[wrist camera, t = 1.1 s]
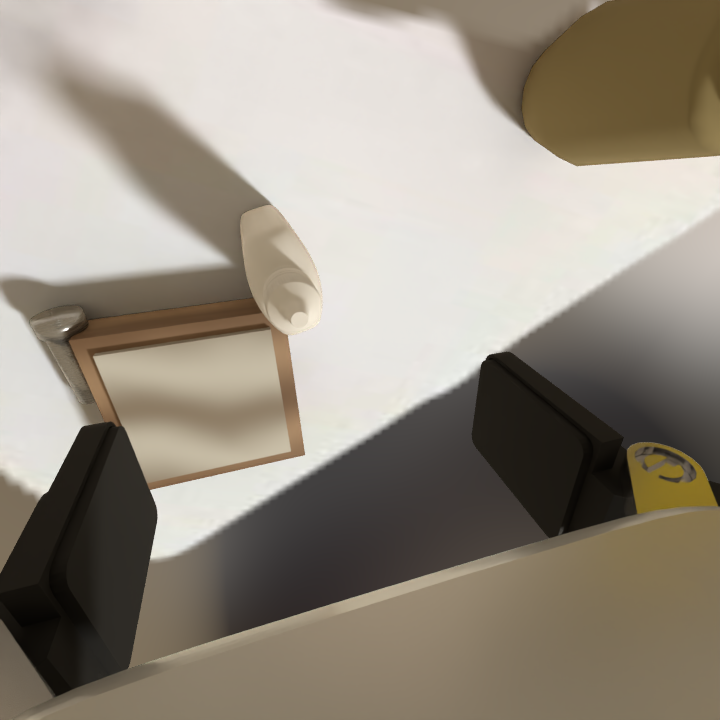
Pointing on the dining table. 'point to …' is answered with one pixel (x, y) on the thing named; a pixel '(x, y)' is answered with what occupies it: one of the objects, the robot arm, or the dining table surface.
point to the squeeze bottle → (630, 84)
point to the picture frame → (194, 388)
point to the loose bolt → (64, 343)
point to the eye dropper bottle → (280, 271)
